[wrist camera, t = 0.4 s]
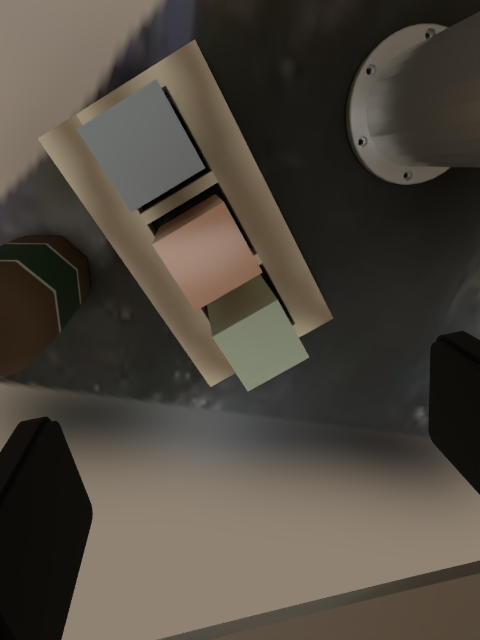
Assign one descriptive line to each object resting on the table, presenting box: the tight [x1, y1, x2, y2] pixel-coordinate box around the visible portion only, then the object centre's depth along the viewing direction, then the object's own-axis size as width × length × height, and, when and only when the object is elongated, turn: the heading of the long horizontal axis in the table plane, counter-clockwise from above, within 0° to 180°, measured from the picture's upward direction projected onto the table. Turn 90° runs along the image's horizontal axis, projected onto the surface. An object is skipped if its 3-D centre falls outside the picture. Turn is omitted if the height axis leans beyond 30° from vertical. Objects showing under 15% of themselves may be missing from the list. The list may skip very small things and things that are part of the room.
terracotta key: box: [152, 194, 263, 311], centre depth 31 cm, size 6×6×8 cm
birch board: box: [38, 40, 333, 387], centre depth 36 cm, size 14×26×3 cm, turn 29°
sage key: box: [207, 274, 309, 391], centre depth 34 cm, size 6×6×8 cm
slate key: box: [77, 79, 205, 213], centre depth 29 cm, size 6×6×8 cm
